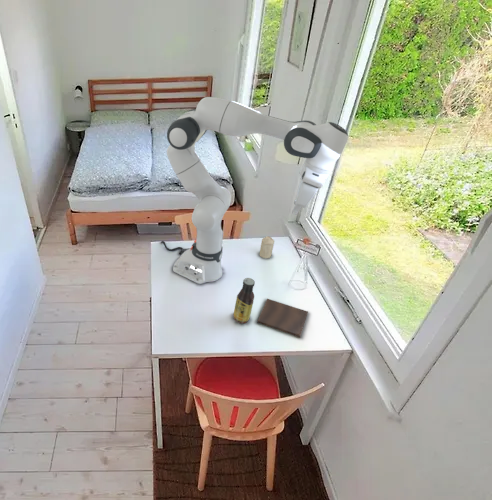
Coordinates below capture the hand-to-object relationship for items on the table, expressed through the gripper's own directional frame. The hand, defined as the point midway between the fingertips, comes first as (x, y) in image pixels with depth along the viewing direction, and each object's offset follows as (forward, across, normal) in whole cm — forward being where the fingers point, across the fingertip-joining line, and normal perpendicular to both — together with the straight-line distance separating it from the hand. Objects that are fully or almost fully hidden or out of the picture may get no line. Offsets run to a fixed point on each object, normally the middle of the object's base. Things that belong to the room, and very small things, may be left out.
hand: (295, 208), depth 135 cm
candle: (+39, -34, +1) cm, 51 cm away
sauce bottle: (+45, +12, +1) cm, 47 cm away
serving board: (+41, +6, +15) cm, 44 cm away
